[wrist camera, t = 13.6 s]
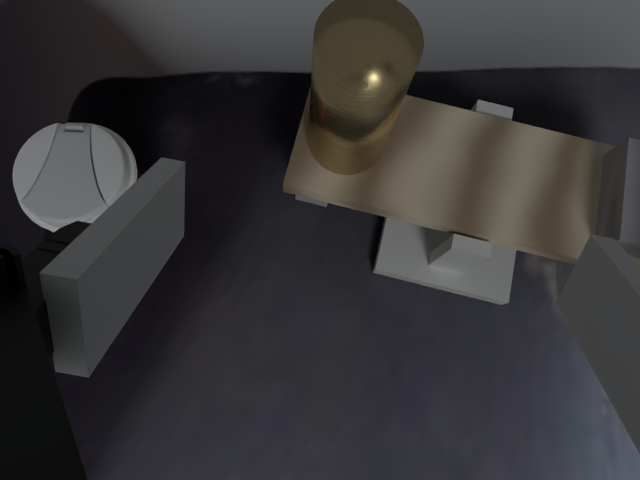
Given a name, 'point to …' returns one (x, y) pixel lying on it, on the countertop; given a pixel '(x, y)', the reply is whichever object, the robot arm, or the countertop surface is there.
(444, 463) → the countertop surface
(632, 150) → the beam
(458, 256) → the seesaw stand
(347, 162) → the olive round cylinder
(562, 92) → the countertop surface
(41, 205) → the paper cup
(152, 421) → the countertop surface
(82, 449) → the countertop surface
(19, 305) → the robot arm
